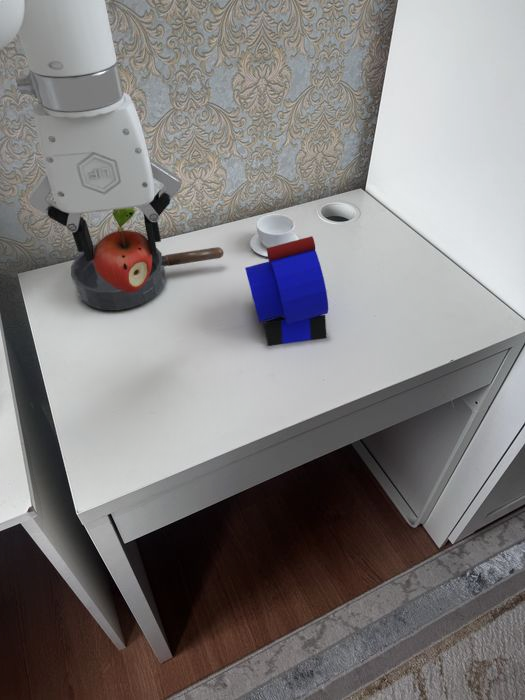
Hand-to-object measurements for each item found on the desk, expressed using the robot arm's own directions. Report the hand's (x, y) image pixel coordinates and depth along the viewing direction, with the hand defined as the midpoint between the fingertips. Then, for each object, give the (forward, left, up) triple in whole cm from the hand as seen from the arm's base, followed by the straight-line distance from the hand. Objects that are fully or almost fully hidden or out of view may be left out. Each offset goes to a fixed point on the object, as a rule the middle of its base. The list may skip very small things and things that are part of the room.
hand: (121, 249), depth 57 cm
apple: (0, 0, -5) cm, 5 cm away
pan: (-3, +22, -22) cm, 31 cm away
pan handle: (+10, +22, -19) cm, 31 cm away
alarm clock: (+23, +6, -22) cm, 32 cm away
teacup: (+27, +27, -22) cm, 44 cm away
